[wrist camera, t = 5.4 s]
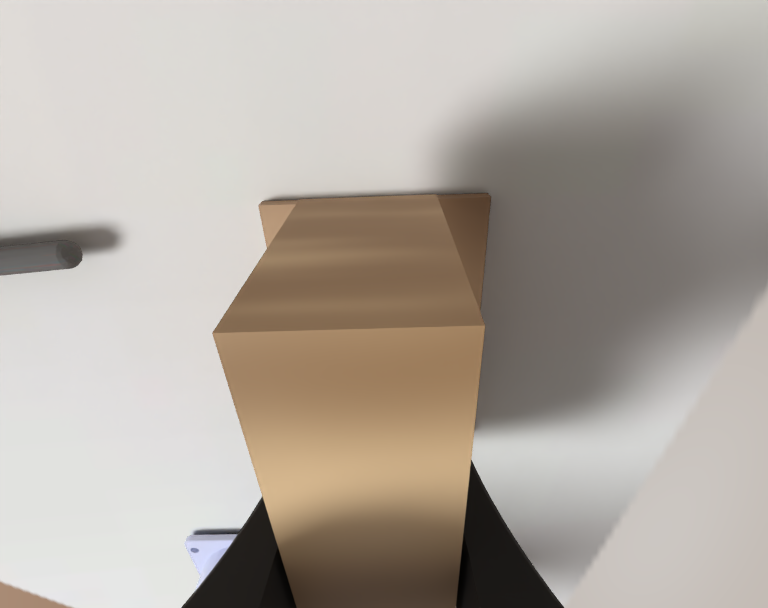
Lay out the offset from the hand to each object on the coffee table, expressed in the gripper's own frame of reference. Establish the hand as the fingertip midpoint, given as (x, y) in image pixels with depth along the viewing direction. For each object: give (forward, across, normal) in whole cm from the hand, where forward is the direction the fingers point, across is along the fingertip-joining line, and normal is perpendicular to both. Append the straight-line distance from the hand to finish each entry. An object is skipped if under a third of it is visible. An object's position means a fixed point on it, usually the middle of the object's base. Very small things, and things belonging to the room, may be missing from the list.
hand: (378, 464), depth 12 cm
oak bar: (+2, 0, 0) cm, 3 cm away
